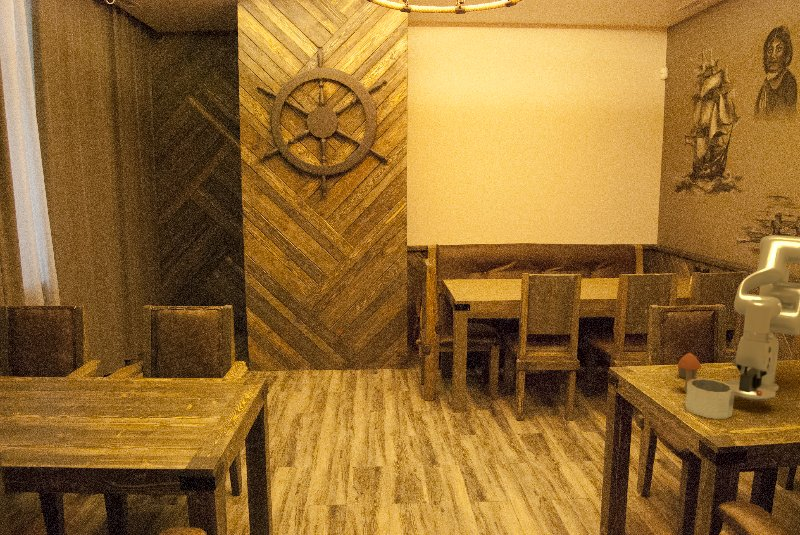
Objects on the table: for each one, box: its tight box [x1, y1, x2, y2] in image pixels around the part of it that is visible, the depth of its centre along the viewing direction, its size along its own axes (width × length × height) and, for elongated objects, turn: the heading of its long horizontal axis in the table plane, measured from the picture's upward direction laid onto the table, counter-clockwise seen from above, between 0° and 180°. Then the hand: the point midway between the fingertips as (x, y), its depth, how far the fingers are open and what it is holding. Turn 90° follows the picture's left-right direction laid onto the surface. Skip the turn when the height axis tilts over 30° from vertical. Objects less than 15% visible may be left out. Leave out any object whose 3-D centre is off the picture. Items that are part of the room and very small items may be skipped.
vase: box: [677, 365, 698, 380], centre depth 239 cm, size 7×7×9 cm
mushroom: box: [677, 352, 702, 393], centre depth 224 cm, size 8×8×15 cm
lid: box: [725, 368, 777, 401], centre depth 211 cm, size 15×15×8 cm
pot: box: [684, 377, 735, 420], centre depth 207 cm, size 14×14×9 cm
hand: (750, 385), depth 211 cm, fingers closed on lid, 3 cm apart
